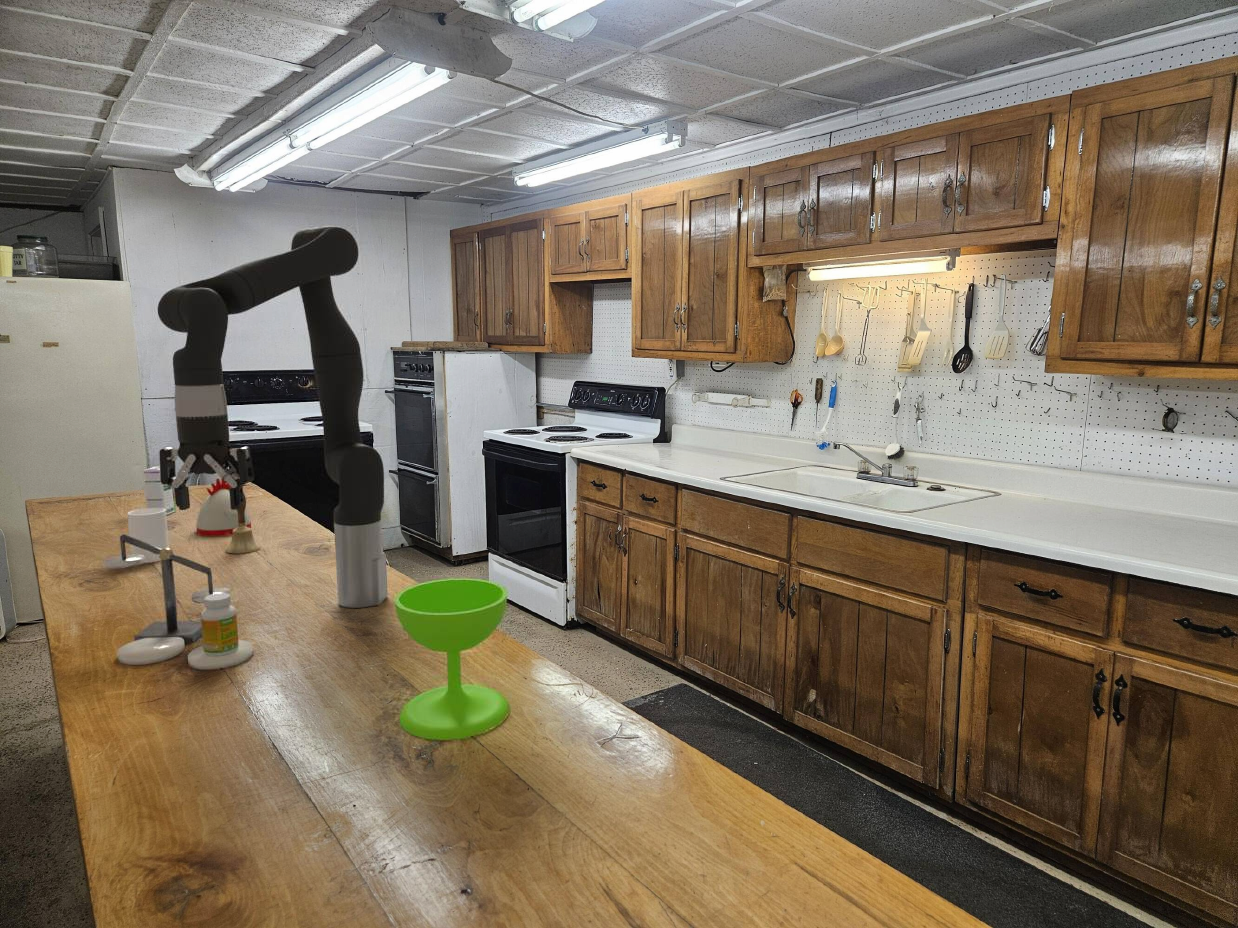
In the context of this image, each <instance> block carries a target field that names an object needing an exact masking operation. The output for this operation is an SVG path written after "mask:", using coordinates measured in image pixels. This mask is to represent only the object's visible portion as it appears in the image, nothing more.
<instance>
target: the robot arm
mask: <svg viewBox="0 0 1238 928" xmlns="http://www.w3.org/2000/svg"><path fill="white" fill-rule="evenodd" d="M290 248H291V249H290V250H288V251H285V252H282V253H280V254H275V255H270V256H267V257H263V258H260V259H256V260H253V261H249V262H246V263H243V264H241V265H237V266H236V267H233V268H230V269H228V270H226V271H224V272H222V273H220V274H217V275H214V276H212V277H209V278H205V279H201V280H198V281H197V280H196V281H194V282H193V281H192V282H189V283H186V284H183V285H179V286H176V287H175V288H172V289H170V290H168V291H166V292H165V293H164V294H163V295H162V296H161V298H160V300H159V302H158V304H157V315H158V318H159V320H160V322H161V323H162V324H163V326H165V327H166V328H168V329H170V330H172V331H175V332H177V333H185V334H186V340H185V346H184V347H182V348H180V349H177V350H176V351H175V352H174V353H173V356H172V368H173V369H172V370H173V378H174V379H173V380H174V385H175V386H174V412H175V420H176V430H177V439H178V442H179V446H178V448H174V447H173V446H168V447H167V446H166V447H164V448H161V449H160V450H159V466H160V481H161V483H162V484H167V485H170V486H172V487H173V488H174V497H175V506H176V508H178V510H179V511H186V510H188V509H190V507H191V502H190V500H191V499H190V490H189V486H188V485H187V484H188V483H189V481H190V479H191V478H192V477H193V476H194V475H200V474H208V475H216V474H217V475H218V476H219V477H220V478H221V479H222V478H223V479H224V480H225V483H226V484H227V483H228V484H229V485H230V486H231V488H229V492H230V504H231V509H232V510H237V509H239V508H240V507H241V505H243V502H244V498H243V492H244V485H246V484H248V483H252V482H253V481H254V480H255V475H254V467H253V461H252V460H253V459H252V453H251V447H249V446H243V447H240V448H239V447H238V448H237V447H236V448H233V447H231V444H230V429H229V414H228V402H227V395H226V391H225V386H224V377H223V376H224V375H223V365H222V359H223V353H224V349H225V342H226V339H227V338H226V337H227V331H228V326H229V316H231V315H238V314H242V313H245V312H247V311H249V310H251V309H254V308H255V307H257V306H260V305H262V304H265V303H266V302H268V301H270V300H273V299H274V298H277V297H279V296H280V295H283V294H285V293H287V292H289V291H292V290H294V289H297V288H299V292H300V296H301V299H302V304H303V310H304V315H305V320H306V325H307V331H308V338H309V343H310V344H309V345H310V352H311V354H310V355H311V361H312V366H313V372H314V378H315V384H316V390H317V396H318V403H319V408H320V412H321V419H322V426H323V430H322V431H323V447H324V448H323V450H324V454H323V455H324V456H323V457H324V466H325V470H326V473H327V476H329V478H330V479H331V480H332V481H333V482H334V483H336V484H338V486H339V502H338V505H337V506H336V507H335V508H333V528H334V533H333V534H334V549H335V566H336V567H335V568H336V581H337V582H336V585H337V598H338V600H337V601H338V605H339V606H341V607H343V608H351V609H353V608H354V609H356V608H359V609H360V608H367V607H373V606H380V605H382V603H383V602H384V601H385V600H386V598H387V597H388V595H389V593H388V575H387V573H388V571H387V555H386V552H383V536H382V535H383V533H382V532H383V531H382V510H383V508H384V505H385V504H384V503H385V470H384V462H383V459H382V456H381V455H380V453H379V452H378V451H377V450H376V448H374V447H373V446H370V445H366V444H364V442H363V438H362V433H361V429H360V428H361V427H360V422H359V421H360V419H359V407H360V401H361V397H362V392H363V386H364V366H363V358H362V352H361V346H360V342H359V340H358V337H357V335H356V333H355V332H354V331H353V330H352V328H351V326H350V324H349V323H348V321H347V320H346V319H345V317H344V315H343V314H342V312H341V310H339V307H338V304H337V302H336V300H335V297H334V291H333V285H332V279H331V277H338V276H341V275H345V274H347V273H349V272H350V271H352V270H353V269H354V267H355V266H356V265H357V262H358V260H359V246H358V243H357V240H356V238H355V237H354V236H353V234H352V233H351V232H350V231H348V230H347V229H346V228H343V227H342V226H337V225H325V226H318V227H317V226H316V227H309V228H303V229H300V230H298V231H297V232H296V233H295V234H294V235H293V237H292V239H291V246H290ZM232 457H233V458H234V461H236V462H237V466H238V472H237V469H236V468H235V467H234V465H233V464H232V463H231V462H230V460H231V458H232ZM178 458H179V459H180V460H181V462H182V463H183V465H182V466H181V468H180V469H179V470H178V472H177V475H176V461H177V460H178Z"/></svg>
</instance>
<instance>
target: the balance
mask: <svg viewBox="0 0 1238 928" xmlns="http://www.w3.org/2000/svg"><path fill="white" fill-rule="evenodd" d="M119 542H120V550H121V551H120V552H121V554H120V555H114V556H111V557H108V558H105V559H104V560H103V561H102V565H103V566H102V567H104V569H105V568H106V569H124V568H130V567H136V566H139V565H142V564H145V563H144V562H145V556H144V555H141V554H131V553H130V554H127V550H126V549H127V548H126V543H127V544H129V545H130V546H131V545H134V546H137V547H139V548H142V549H144V550H147V551H149V552H152V553H154V554H157V555H158V556H159V558H160V559H161V561H160V566H161V567H160V568H161V577H162V586H163V589H162V590H163V599H164V608H165V609H164V610H165V618H166V619H165V620H166V621H153V622H152V623H151V624H149V625H147V627H145V628H143V629H142V630H141V631H139V632H138V633H137V634H135V635H134V638H133V639H134V641H136V640H140V639H144V638H149V637H176V636H177V637H181V638H183V639H184V644H185V643H195V642H196V641H197V640H198V639H199V638H200V637H201V636H202V625H201V620H186V621H185V620H184V621H181V620H180V621H179V619H178V617H179V616H178V610H177V609H178V608H177V597H176V586H175V574H174V573H175V572H174V564H173V562H175V563H177V564H179V565H182V566H185V567H188V568H190V569H192V570H195V571H197V572H201V573H202V574H205V575H207V584H208V585H207V586H208V588H205V589H201V590H197V591H196V592H195V591H194V593H192V594H191V596H190V597H191V599H190V600H191V601H192V602H193V603H196V604H204V598H205V597H206V596H208V595H211V594H217V593H227V594H230V597H231V596H232V593H231V592H232V591H231V589H230V588H227V587H214V586H213V585H214V584H213V574H212V568H211V567H208V566H206V565H203V564H201V563H198V562H196V561H193V560H191V559H188V558H185V557H183V556H181V555H177V554H175V552H174V551H173V550H172V548H170V547H169V548H163V549H161V548H158V547H155V546H153V545H150V544H148V543H145V542H143V541H140V540H138V539H135V538H133V537H130V535H127V534H124V533H123V534H122V535H119Z"/></svg>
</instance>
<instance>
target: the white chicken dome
mask: <svg viewBox="0 0 1238 928" xmlns="http://www.w3.org/2000/svg"><path fill="white" fill-rule="evenodd" d="M215 481H216V483H214V482H213V483H212V482H211V483H210V485H211V488H212V490H211V489H210V488H207V487H206V491H207V493H208V494H209V495H208V496H207V497H206V498H205V499H204V501H203V502H202V505H201V506H200V508H199V512H198V515H197V520H196V534H198V535H200V536H205V537H207V536H208V537H219V536H218V535H222V536H228V535H229V534H231V535H232V533H233V530H234V529H236V528H237V527H238V512H237V510H232V509H231V504H230V492H229V488H231V486H230V485H229V484H228V483H227V482H226V481H225V480H224V479H223V478H221V480H220V478H216V479H215ZM245 525H246V527H248V528H251V529H252V521H251V517H250V514H249V512H248V510H247V507H246V508H245ZM229 536H230V535H229Z"/></svg>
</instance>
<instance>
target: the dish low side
mask: <svg viewBox="0 0 1238 928" xmlns="http://www.w3.org/2000/svg"><path fill="white" fill-rule="evenodd" d="M238 644H239V647H238V649H237V650H236V651H235V652H233V653H231V654H227V655H223V656H208V655H206V654H204V650H203V645H200V646H198V647H196V648H194V649H192V650H191V651H190V652H189V653H188V654H187V662H188V663H187V664H188V666H189V667H190V668H192V669H196V670H199V671H200V670H203V671H206V670H207V671H211V670H213V669H214V670H221V669H220V668H222V669H226V668H230V667H233V666H237V665H240V664H242V663H245V662H247V661H248V660H249V659H252V657H253V656H254V645H253V643H252V642H250V641H247V640H243V639H238Z"/></svg>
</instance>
